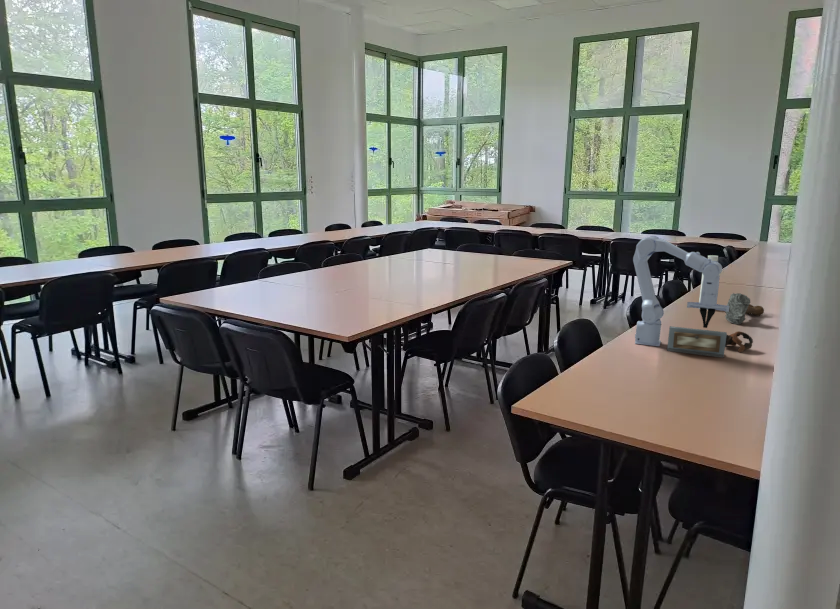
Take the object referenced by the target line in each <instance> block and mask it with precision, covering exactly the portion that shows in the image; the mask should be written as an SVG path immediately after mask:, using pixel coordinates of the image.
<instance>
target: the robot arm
mask: <svg viewBox="0 0 840 609" xmlns="http://www.w3.org/2000/svg"><path fill="white" fill-rule="evenodd" d="M657 252H660V253H661V252H665V253H667V254H669V255H671V256H675V257H676V258H678V259H681V260H683V261H684V264H685V266H687V267H690V268H691V269H694V270H695V271H697V272H699V273H701V274H702V273H703V275H704V278H703V283H702V291H701V299H700V302H699V301H698V302H695V301H687V303H686V304H687V305H686V308H688V309H690V308H691V309H699V308H700V309H699V313H700V315H701V319H702V327H703V328H704V329H708V326H709V323H710V321H711V319H712V317H713V316H714V315H715V313H716V311H724V312H725V311H727V312H729V306H727V304H726V305H724V304H719V303H718V304H717V302H718V295H719V289H720V276H721V275H719V274H722V272H723V266H722V264H721V263H720V262H719V261H718V262H717V261H712V259H710V258H709V259H708V257H705V256H703V255H701V253H700V252H699V251H696V252H695V251H691V252H688V251H686V250H684V249H682V248H680V247H678V246H677V245H675V244H674V243H671V242H670V241H667V240H666V239H665V238H661V237H658V236H656V235H650V236H647V237H643V238H641V239H640V240H639V241H638V243H637V244H636V246H635V251H634V255H633V257H632V262H633V265H634V271H635V274H636V278H637V282H638V287H639V290H640V295H641V299H642V303H641V310H642V311H641V319H642V320H638V321H637V322H636V329H635V334H634V339H635V341H634V344H638V345H645V346H652V347H661V343H662V342H661V341H662V340H660V339H661V328H662V320H661V319H662V318H663V316H664V314H665V313H664V312H665V311H664V308H663V307H662V306H661V304H660V301H659V299H658V298H657V297H656V296H657V295H656V291H655V289H654V283H653V280H652V276H651V271H650V267H649V263H648V260H649V259H650V257H652V255H653V254H654V253H657ZM718 275H719V276H718ZM707 309H708V311H707Z"/></svg>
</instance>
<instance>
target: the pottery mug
mask: <svg viewBox="0 0 840 609" xmlns="http://www.w3.org/2000/svg"><path fill="white" fill-rule="evenodd" d="M740 336H742V338H743V339H746V340H748V342H744V344H743V341H742V340H741V339H739V337H740ZM753 343H754V340H753V338H752V337H751V335H749V333H746V332H743V331H735V332H734V333H733V332H732V333H730V334H727V335H726V343H725V348H727V346H732V347H736V346H737V345H738V346H739V348H737V352H738V353H743V352H744V351H747V350H750V349H751V348H752V346H753Z"/></svg>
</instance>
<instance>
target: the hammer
mask: <svg viewBox="0 0 840 609" xmlns="http://www.w3.org/2000/svg"><path fill="white" fill-rule="evenodd" d="M726 306H729V312H727V311H724V312H725V316H724V317H725V319H726V321H727V322H728V323H732V324H733V325H741V324H742V323H744V322H745V320H746V315H753V316H756V317H757V316H758V317H760V316H762V315H763V314H764V311H765V308H764V307H763V306H762V305H756V306H754V305H753V304H751V298H750V297H748V296H747V295H745V294H743V293H738V292H737V293H734V292H732V293H731V294H730V296H729V299H728V301H727V303H726Z"/></svg>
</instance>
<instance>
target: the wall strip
mask: <svg viewBox="0 0 840 609" xmlns="http://www.w3.org/2000/svg"><path fill="white" fill-rule="evenodd" d="M674 332H684V333H694V334H704V335H715V336H721V339H720V348H719V352H711V351H702V350H692V349H683V348H674V347H673V342H674ZM726 335H728V333H727V331H718V330H708V329H699V328H690V327H682V326H680V327H679V326H669V330H668V338H667V347H666V351H667V352H673V353H683V354H689V355H690V354H692V355H699V356H706V357H707V356H708V357H715V358H725V351H726V350H725V349H726V347H725V343H726Z"/></svg>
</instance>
